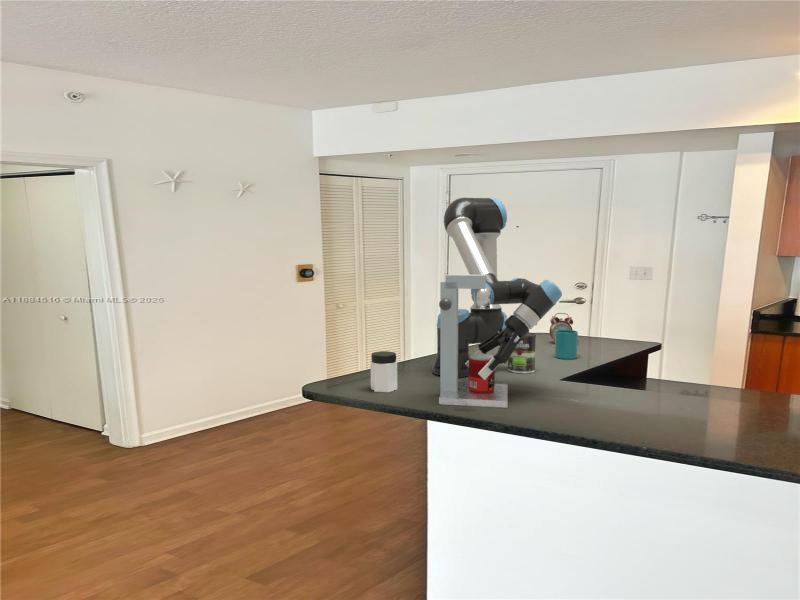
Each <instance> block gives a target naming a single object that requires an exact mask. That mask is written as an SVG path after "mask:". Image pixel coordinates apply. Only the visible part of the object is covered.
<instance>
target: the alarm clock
mask: <svg viewBox="0 0 800 600" xmlns="http://www.w3.org/2000/svg"><path fill="white" fill-rule="evenodd" d="M557 315H567V317H565V318H564V319H563V318H559V317H558V316H557ZM550 324H551V325H550V327H549V331H548V332H549V335H550V337H551V339H552V340H553V343H555V331H556V330H573V327H572V325H573V324H574V320H573V317H572V316H569V314H567V313H565V312H557V313H555V314H554V316H551V318H550Z"/></svg>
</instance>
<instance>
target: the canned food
mask: <svg viewBox="0 0 800 600" xmlns="http://www.w3.org/2000/svg"><path fill="white" fill-rule="evenodd" d="M493 356H494V355H493V354H490V353H486V354H475V353H472V354H469V376H468V382H469V390H470V391H471V392H474V393H480V394H487V393H492V392H493V391H494V387H495V384H496V382H495V380H496V378H495V376H496V373H495V372H496V369H495V370H494V371H493V372H492V373H491V374H490V375H489V376H488V377H487V378H486V379H485V380H484V379H483V378H482V377H481V376H480V375H479V374H478V373H479V372H480V371H481V370H482V368H483V367H484V366H485V365H486V364H487V363H488V362H489V361H490V360H491V359H492V358H494V357H493ZM494 359H495V358H494Z"/></svg>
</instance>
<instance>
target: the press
mask: <svg viewBox="0 0 800 600" xmlns="http://www.w3.org/2000/svg"><path fill="white" fill-rule="evenodd" d="M444 277H445V279H444V280H442V281H440V282H439V283H440V289H439V290H440V297H439V298H440V300H439V303H438V305H439V308H440V313H439V314H440V376H439V377H440V379H439V380H440V381H439V382H440V384H439V385H440V386H439V387H440V389H439V390H440V394H439V396H438V404H439V405H445V406H447V405H449V406H462V407H463V406H466V407H484V408H504V409H505V408H506V409H508V398H509V397H508V393H509V392H508V391H509V390H508V387H509V386H508V383H495V387H494V391H493V392H492V393H487V394H480V393H474V392H471V391H470V390H469V381H468V382H466V381H465V382H464V381H459V377H458V309H459V290H460V289H463V290H464V289H466V290H467V289H469V290H471V289H474V302H473V304H474V308H478V309H487V308H490V288H486V275H469V274H445V276H444Z"/></svg>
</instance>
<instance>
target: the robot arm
mask: <svg viewBox="0 0 800 600" xmlns="http://www.w3.org/2000/svg"><path fill="white" fill-rule="evenodd" d="M507 222H508V213H507V210H506V206H505V203H504V204H503V202H502V201H501V200H500V199H497V198H491V197H460V198H457V199H455V200H453V201H451V203H449V205H448V206H447V208H446V209H445V212H444V215H443V225H444V230H445V231H446V234H447V235H448V237H450V238H452V240H453V242H454V244H455V247H456V248H457V251H458V252H459V255H460V257H461V259H462V261H463V263H464V266H465V268H466V270H467V272H468V275H486V288H490V308H487V309H478V308H474V289H470V294H471V300H472V301H473V304H472V305H471V306H470V307H469V308H470V311H469V310H468V309H466V308H464V309H462V308H458V378H466V377H465V376H467V377H469V355H470V351H469V350H470V345H474V344H475V345H476V344H478V345H477V347H478V349H477V351H475V353H474V354H488V352H490V351H492V350H493V349H495V348H497V347H498V350H497V352H496V354H495V355H493V357H494V358H495V359H494V358H492V359H491V360H490V361H489V362H488V363H487V364H486V365H485V366H484V367H483V368H482V370H481V371H480V372H479V373H478V374H479V375H480V376H481V377H482V378H483V379H484V380H485V379H486V378H487V377H488V376H489V375H490V374H491V373H492V372H493V371H494V370H495V371H496V369H497V367H498V366H500V365H501V364H503V365H504V364H507V363H508V359H509V357H510V356H511V354H512V352H513V351H514V349H515V347H516V346H517V344H518V343H519V342H520V341H521V339H522V338H524V337H525V335H526V334H527V333H528V332H530V330H532V329H533V328H534V327H535V326H538V323H539V322H540V321H541V319H543V318H544V317H545V316H546V314H548V312H549V311H550V310H551V309H552V308H553V307H554V306H556V304H557V303H558V301H559V300H560V299H561V298H562V295H563V293H562V290H561V289H560V287H559V286H557V284H556V283H554V281H553V282H552V281H551V280H549V279H545V280H543V281H542V282H540V283H539V284H537V283H534V282H533V281H530V280H529V279H526V278H521V277H515V278H513V279H511V280H499V279H498V259H497V258H498V257H497V256H498V254H497V251H498V249H497V246H498V245H497V242H498V241H497V239H498V238H499V236H500V235H501V233H502V232H501V231H502V230H503V229H505V227H506V225H507V224H506V223H507ZM511 304H513V305H514V304H515V305H517V304H519V306H518V307H516V309H515V310H514V311H513V312H512V313H513V314H511V315H510V316H508V315H507V314H506V313H505V312H504V311H503V310H502V308H503V307H502V306H501V305H511ZM436 322H437V323H436V329H437V330H436V334H437V335H436V343H437V344H436V345H437V346H436V347H437V353H436V355H435V359H434V362H433V365H432V374H433V373H434V374H433V375H435V374H436V375H435V376H437V375H440V313H438V316H437V321H436Z"/></svg>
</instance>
